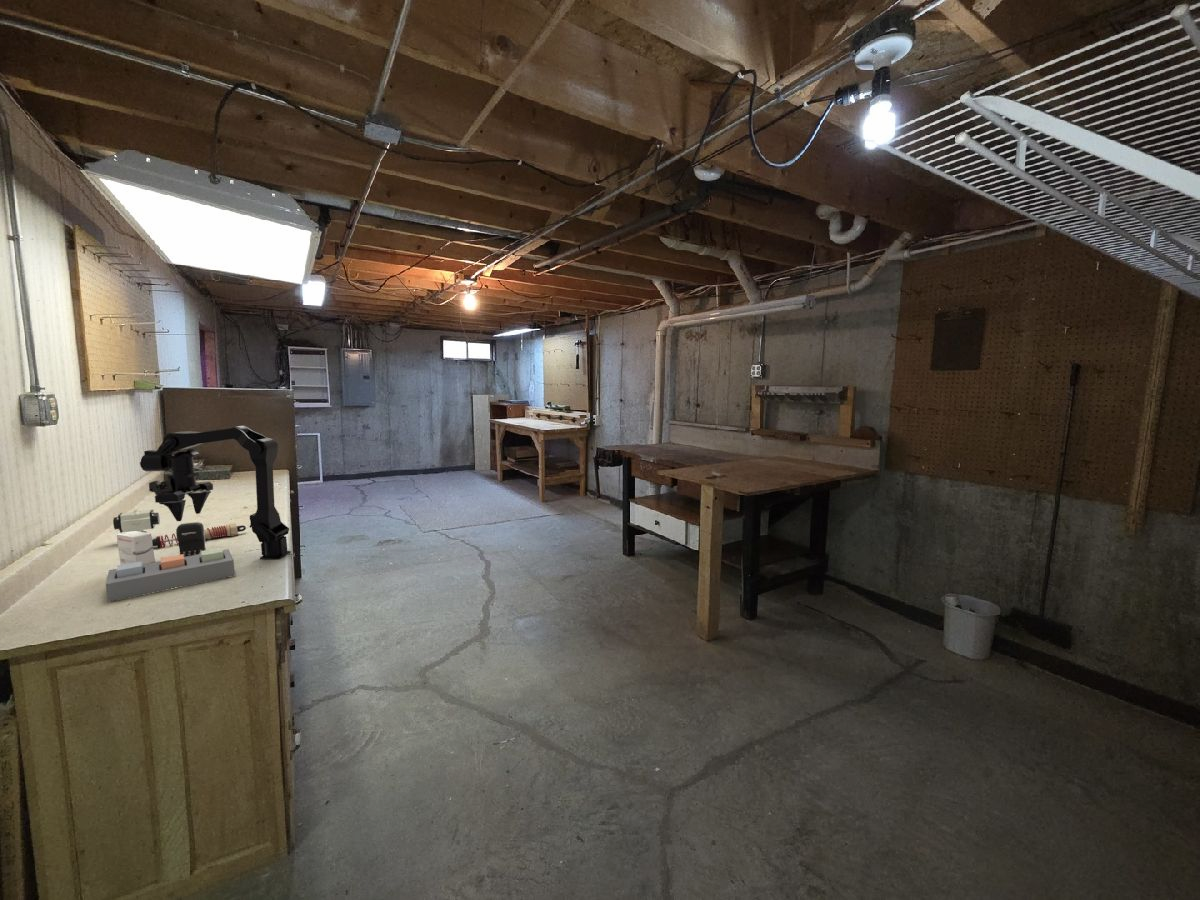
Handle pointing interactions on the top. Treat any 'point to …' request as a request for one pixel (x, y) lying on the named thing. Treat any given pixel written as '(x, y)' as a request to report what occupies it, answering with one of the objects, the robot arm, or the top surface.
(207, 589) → the top surface
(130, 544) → the ink box
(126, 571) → the slate button
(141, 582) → the button panel
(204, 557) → the sage button
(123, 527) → the pneumatic valve
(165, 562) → the terracotta button
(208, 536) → the shock absorber
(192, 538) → the battery charger
